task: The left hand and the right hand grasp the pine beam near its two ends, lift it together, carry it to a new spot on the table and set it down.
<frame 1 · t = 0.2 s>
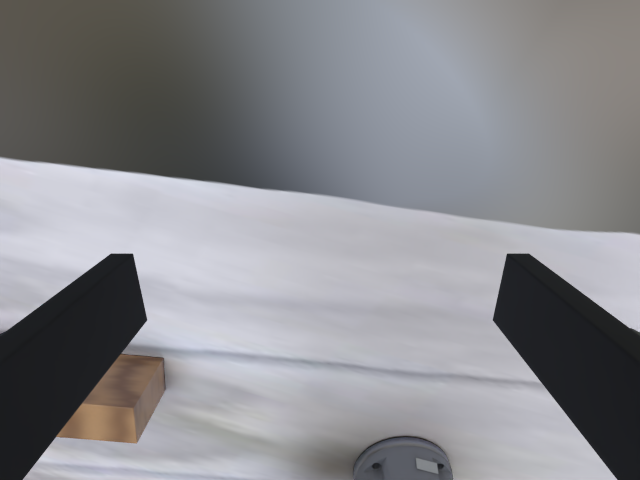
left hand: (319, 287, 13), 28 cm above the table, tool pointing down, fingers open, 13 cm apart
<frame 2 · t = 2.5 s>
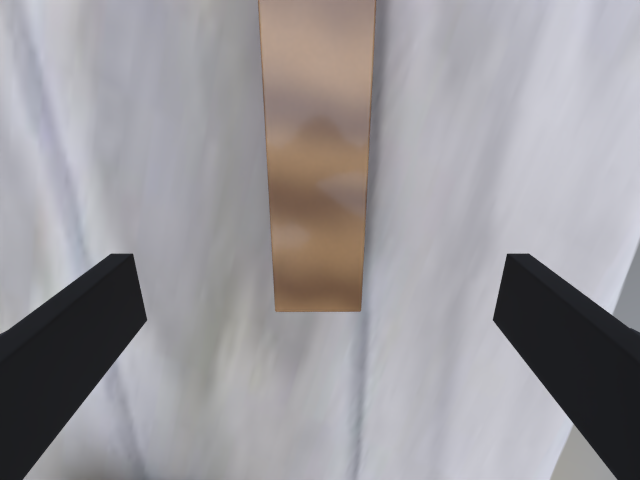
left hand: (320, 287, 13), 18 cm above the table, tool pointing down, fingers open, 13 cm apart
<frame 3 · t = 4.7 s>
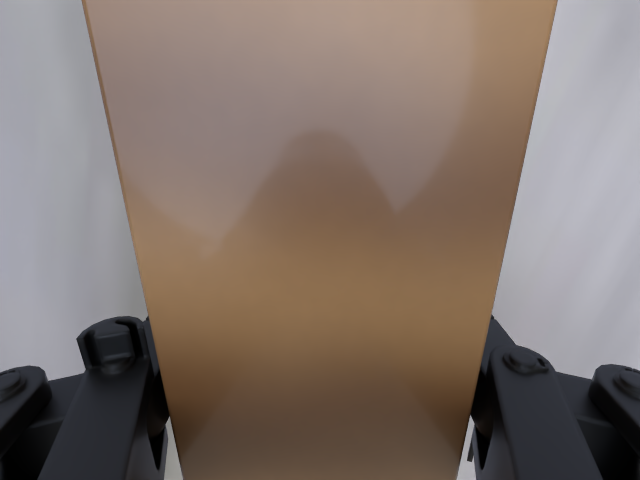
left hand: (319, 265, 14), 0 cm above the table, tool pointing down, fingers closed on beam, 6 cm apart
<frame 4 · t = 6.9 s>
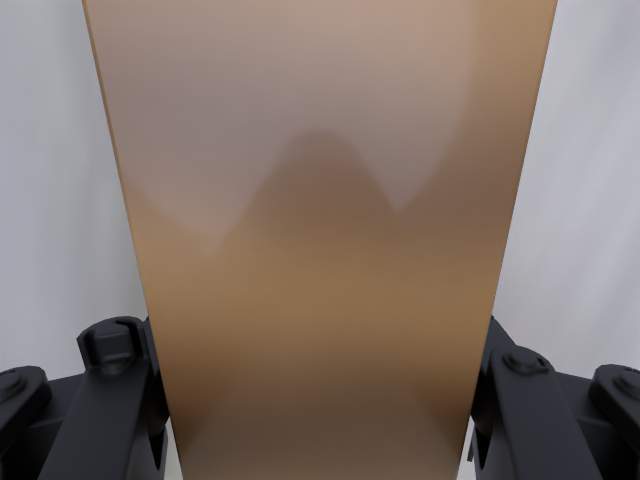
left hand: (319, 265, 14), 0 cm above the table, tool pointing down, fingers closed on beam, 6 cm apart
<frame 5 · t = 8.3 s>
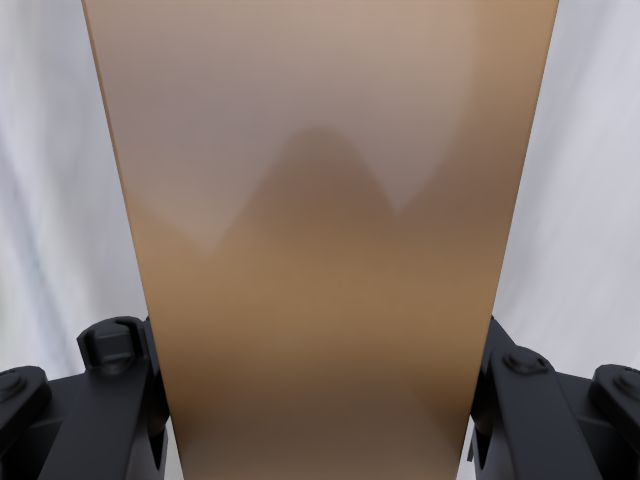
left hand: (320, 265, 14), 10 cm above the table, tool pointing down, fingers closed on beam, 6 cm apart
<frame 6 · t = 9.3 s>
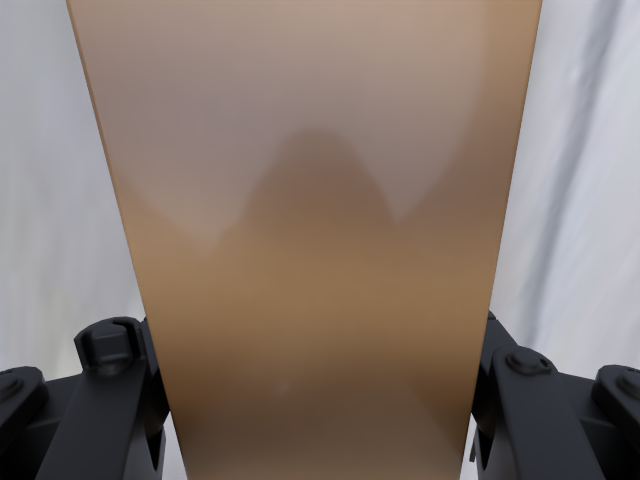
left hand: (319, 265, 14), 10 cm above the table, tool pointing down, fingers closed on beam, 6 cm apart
when the left hand's fingers open (2 cm above the table, at t = 11.7 s): beam drops 2 cm, on the table.
when the right hand's fingers open (2 cm above the table, at t = 11.7 s): beam drops 2 cm, on the table.
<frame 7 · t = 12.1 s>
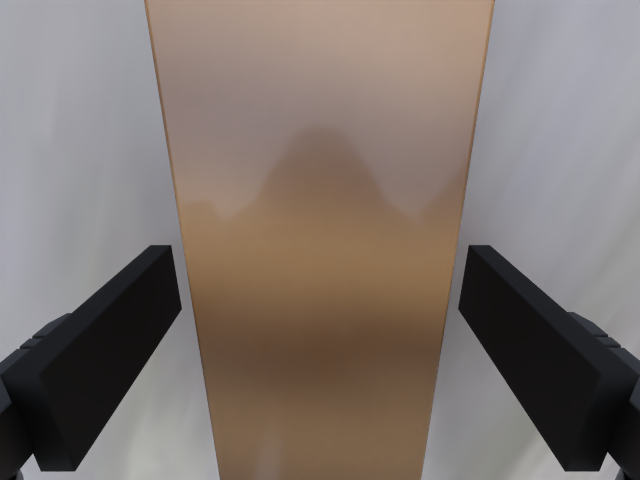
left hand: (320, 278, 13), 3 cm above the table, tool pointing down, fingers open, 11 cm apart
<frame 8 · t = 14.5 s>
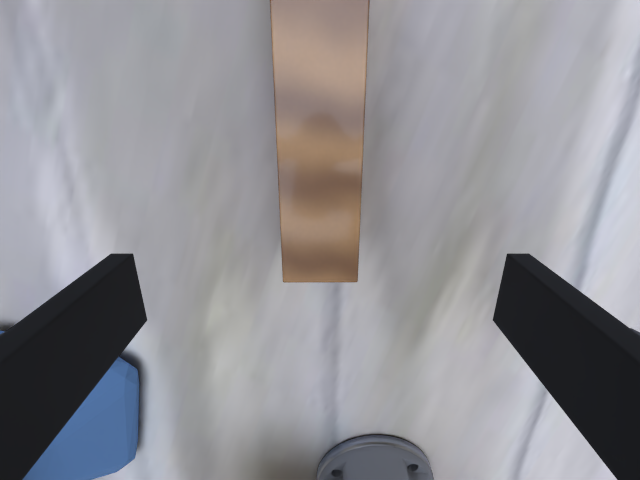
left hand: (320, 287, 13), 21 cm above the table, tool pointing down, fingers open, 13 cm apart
figurine: (58, 394, 42), on the table
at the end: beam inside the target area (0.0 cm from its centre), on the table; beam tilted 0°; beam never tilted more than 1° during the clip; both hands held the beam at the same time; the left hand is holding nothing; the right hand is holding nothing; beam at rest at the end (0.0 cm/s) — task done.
